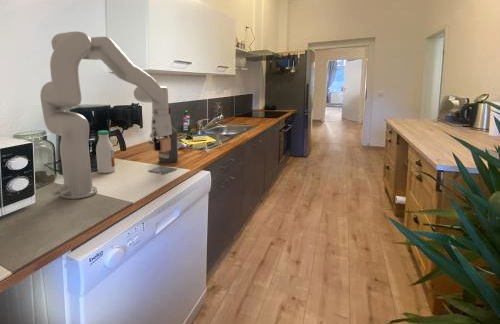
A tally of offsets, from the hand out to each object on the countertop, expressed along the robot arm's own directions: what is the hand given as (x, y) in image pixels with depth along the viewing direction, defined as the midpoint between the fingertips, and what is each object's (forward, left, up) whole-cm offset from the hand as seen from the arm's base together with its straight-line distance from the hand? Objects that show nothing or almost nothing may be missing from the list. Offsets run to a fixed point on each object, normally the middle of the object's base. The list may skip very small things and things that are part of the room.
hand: (162, 148), depth 153 cm
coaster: (0, 0, -11) cm, 11 cm away
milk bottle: (-15, +22, -12) cm, 29 cm away
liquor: (+17, +10, -12) cm, 23 cm away
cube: (0, 0, -1) cm, 1 cm away
